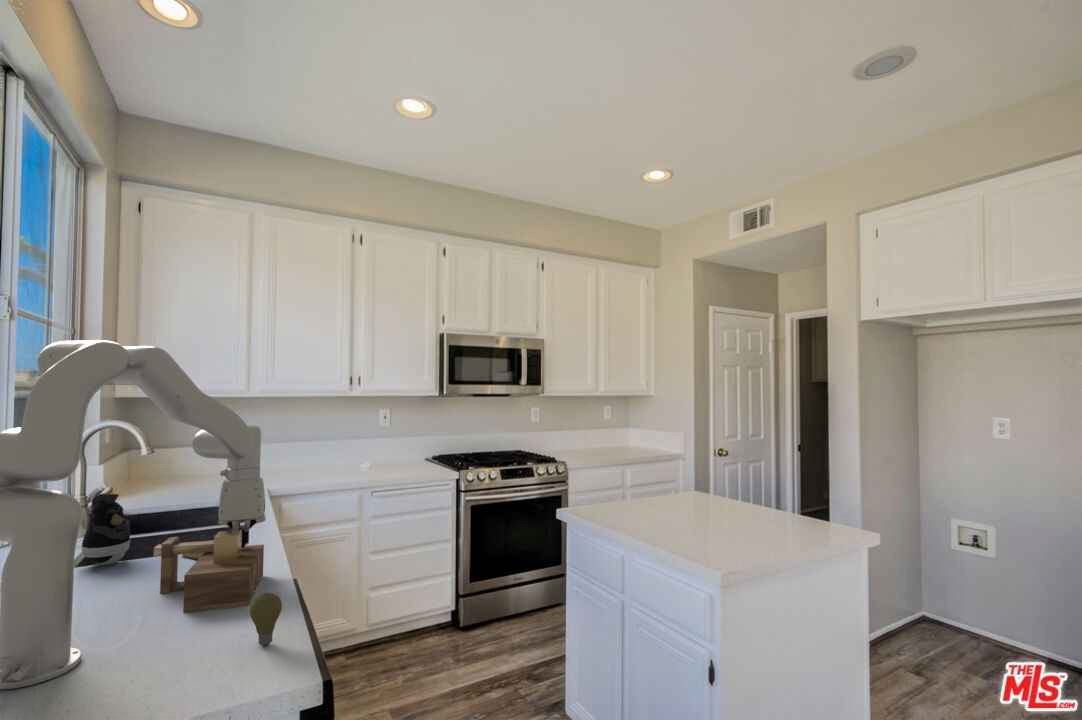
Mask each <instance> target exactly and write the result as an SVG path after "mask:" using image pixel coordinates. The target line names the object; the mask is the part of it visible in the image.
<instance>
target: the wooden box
mask: <svg viewBox="0 0 1082 720" xmlns="http://www.w3.org/2000/svg"><path fill="white" fill-rule="evenodd" d="M179 537H180V536H171V537H168V538H167V539H166V540H164V541H163V542H162V543H161V544H162V549H161V556H160V558H161V560H160V581H159V582H160V584H159V585H160V586H159V594H160V595H161V594H169V593H171V592H172V591H181V590H182V589H183V604H182V605H183V609H182V610H183V613H185V614H186V613H193V612H194V613H195V612H201V611H203V612H204V611H210V610H220V609H231V608H238V607H240V608H241V607H247V606H250V605H251V602H252V600H253V598H254V596H255V594H256V592H255V591H257V590H258V587H259V585H260V583H261V581H262V579H261V578H263V577H262V576H264V557H265V556H264V555H265V552H264V551H265V550H264V549H263V551H262V553H261V555H260V557H259V559H258V560H257V562H256V564H255V566H254V568H253V569H252V571H251V573H250V575H239V576H229V577H218V578H207V579H197V580H186V581H184V580H183V581H178V573H179V572H178V569H179V568H178V567H179V554H178V555H172V546H173V544H174V543H180V542H179ZM260 580H261V581H260ZM259 582H260V583H259ZM256 589H257V590H256ZM254 593H255V594H254ZM253 595H254V596H253Z"/></svg>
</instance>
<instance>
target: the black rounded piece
mask: <svg viewBox="0 0 1082 720" xmlns="http://www.w3.org/2000/svg"><path fill="white" fill-rule="evenodd" d="M118 498H119V493H118V494H117V493H109V492H108V493H107V492H106V493H105V492H104V493H99V494H97V495H95V496H94V497H93V498H92V500H91V506H92V508H91V511H90V513H89V514H87V515H88V517H89V523H88V526H87V529H86V530H85V533H84V535H83V538H82V541H81V546H80V549H81V555H82V556H83V557H85V558H86V559H87V560H89V562H91V563H93V564H94V563H95V564H96V565H98V566H110V565H112V564H114V563H117V562H119V561H120V560H121V559H122V558H123V557H124V556H125V554H126V552H127V551H128V550H129V548H130V544H131V536H130V535H131V528H130V527H131V526H130V525H131V522H130V520H128V519H127V518H126V516H125V514H124V507H123V506H122V505H121V504H120V503H118V502H116V500H117V499H118Z"/></svg>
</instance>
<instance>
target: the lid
mask: <svg viewBox="0 0 1082 720" xmlns="http://www.w3.org/2000/svg"><path fill="white" fill-rule="evenodd" d="M242 530H243V529H242ZM242 530H235V531H233V530H223V531H218V532H217V533H216V534H215V535H214V536H213V540H214V552H204V554H203V555H202V556H201V557H200V558H199V559H198V560H197V559H196V561H195V563H194V564H192V566H191V567H190V568H189V570H187V572H186V573H185V574H184V579H183V581H186V580H197V579H207V578H218V577H229V576H239V575H250V573H251V571H252V569H253V568H254V566H255V564H256V562H257V560H258V559H259V557H260V555H261V553H262V551H263V549H264V547H265V544H263V543H262V544H252V545H245V547H244V548H242V547H241V543H242Z"/></svg>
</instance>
